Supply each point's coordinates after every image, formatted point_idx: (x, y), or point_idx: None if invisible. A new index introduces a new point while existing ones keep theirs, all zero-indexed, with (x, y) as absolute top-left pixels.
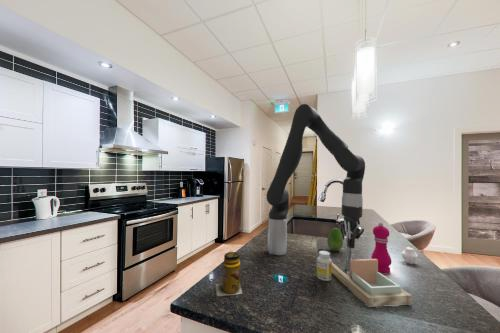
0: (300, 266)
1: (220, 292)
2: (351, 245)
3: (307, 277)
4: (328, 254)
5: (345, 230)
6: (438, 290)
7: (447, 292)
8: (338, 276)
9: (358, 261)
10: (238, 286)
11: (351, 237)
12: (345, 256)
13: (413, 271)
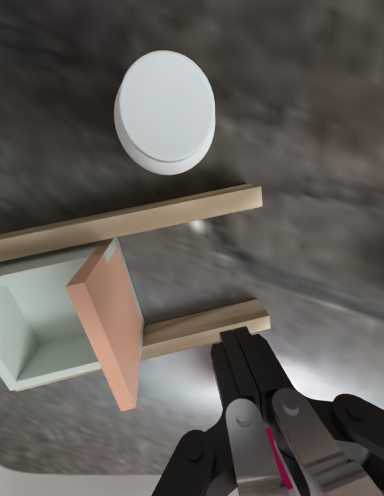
0: (279, 27)
1: None
2: (212, 359)
3: (153, 36)
4: (129, 136)
5: (352, 474)
6: (138, 442)
7: (131, 453)
8: (159, 203)
9: (83, 320)
10: None
11: (198, 441)
12: (357, 292)
13: None
